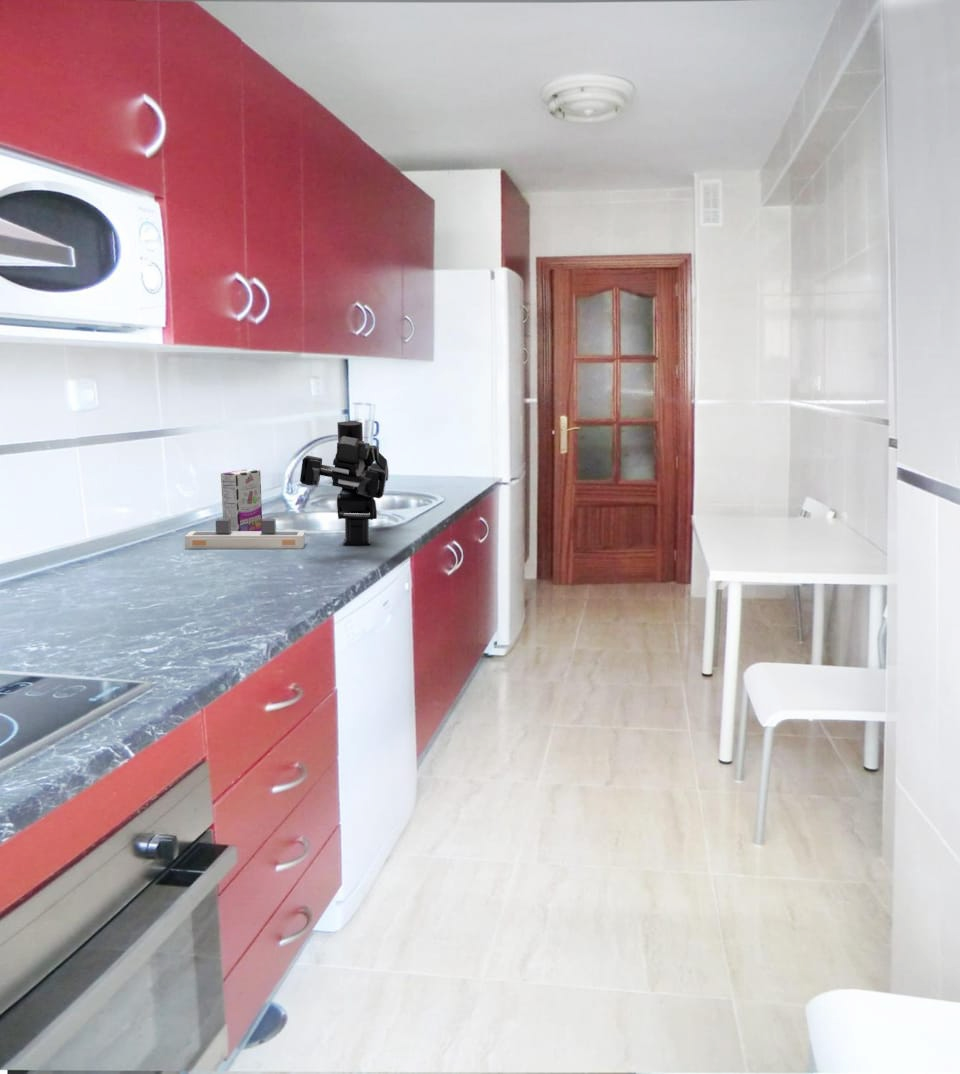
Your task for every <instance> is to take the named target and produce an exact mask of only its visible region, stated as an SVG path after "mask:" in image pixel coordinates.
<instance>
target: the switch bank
mask: <svg viewBox="0 0 960 1074" xmlns="http://www.w3.org/2000/svg"><path fill="white" fill-rule="evenodd" d="M305 545H306V531H305V530H294V531H293V530H291V531H290V530H289V531H287V530H285V531H284V530H276V532H275V533H262V531H231V532H230V533H216V530H215V531H214V530H212V531H211V530H205V531H204V530H203V531H202V530H200V531H199V530H198V531H197V530H192V531H189V532H188V533H187V534H186V535H184V549H185V550H190V549H191V550H217V549H218V550H222V549H223V550H226V549H227V550H228V549H229V550H231V549H232V550H237V549H239V550H240V549H241V550H242V549H243V550H244V549H245V550H247V549H248V550H249V549H253V550H254V549H256V550H257V549H259V550H260V549H261V550H262V549H263V550H264V549H270V550H271V549H272V550H273V549H275V550H277V549H278V550H279V549H281V550H282V549H283V550H285V549H297V550H299V549H300V550H301V549H304V547H305Z"/></svg>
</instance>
